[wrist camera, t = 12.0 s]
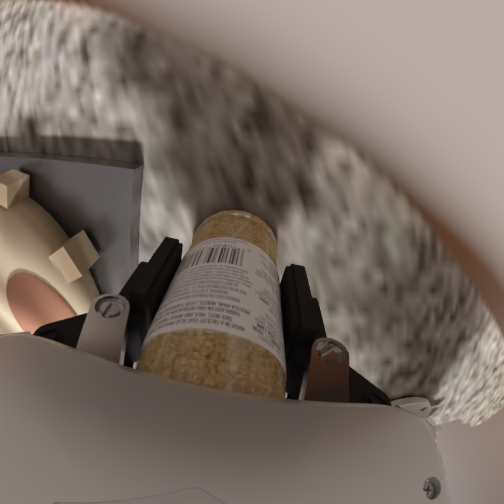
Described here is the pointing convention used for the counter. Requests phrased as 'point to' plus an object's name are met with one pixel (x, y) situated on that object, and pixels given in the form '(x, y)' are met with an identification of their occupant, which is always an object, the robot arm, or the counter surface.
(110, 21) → the counter surface
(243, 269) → the sprinkles bottle
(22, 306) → the sprocket dial
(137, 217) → the dial base
